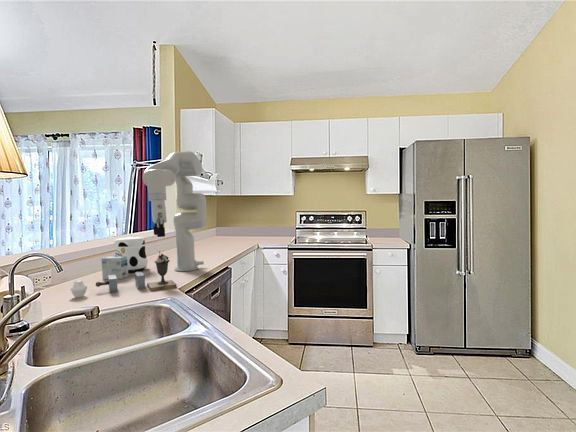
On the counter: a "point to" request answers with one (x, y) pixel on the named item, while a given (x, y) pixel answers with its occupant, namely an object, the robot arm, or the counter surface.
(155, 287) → the walnut board
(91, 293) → the counter surface
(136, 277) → the vise
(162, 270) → the sundae
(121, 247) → the milk container
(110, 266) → the light bulb box
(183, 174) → the robot arm
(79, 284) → the white faceted knobby ball
